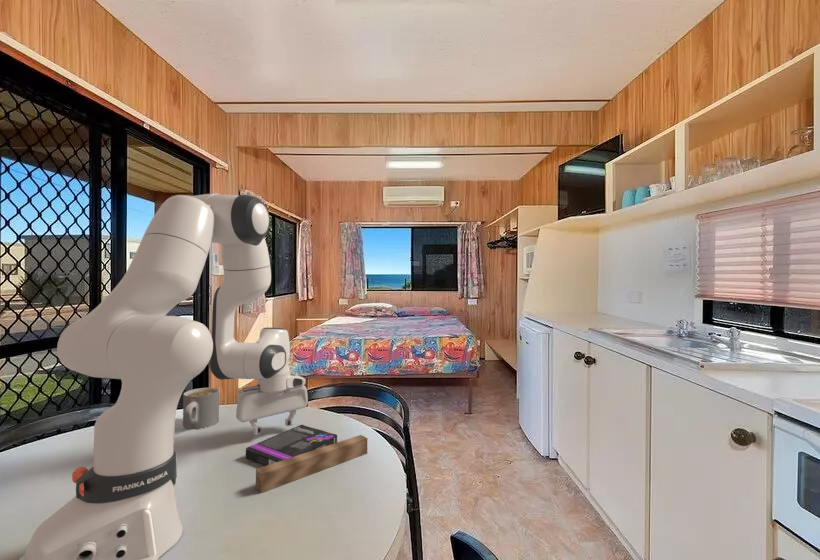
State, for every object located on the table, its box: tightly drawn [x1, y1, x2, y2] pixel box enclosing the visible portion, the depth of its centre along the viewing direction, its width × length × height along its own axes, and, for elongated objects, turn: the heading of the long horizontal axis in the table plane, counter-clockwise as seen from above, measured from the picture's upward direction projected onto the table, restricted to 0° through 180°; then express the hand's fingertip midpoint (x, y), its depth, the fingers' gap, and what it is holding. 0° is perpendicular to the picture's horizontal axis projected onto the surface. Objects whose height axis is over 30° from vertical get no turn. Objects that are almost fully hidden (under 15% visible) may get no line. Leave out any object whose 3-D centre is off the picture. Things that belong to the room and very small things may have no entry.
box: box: [245, 424, 338, 467], centre depth 100 cm, size 14×4×20 cm
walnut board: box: [255, 434, 368, 494], centre depth 90 cm, size 28×3×4 cm, turn 133°
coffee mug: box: [182, 387, 220, 430], centre depth 117 cm, size 13×10×10 cm
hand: (273, 429), depth 109 cm, fingers open, 8 cm apart
